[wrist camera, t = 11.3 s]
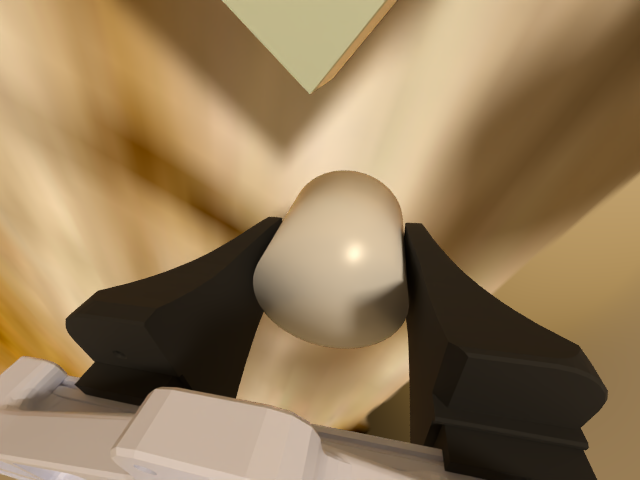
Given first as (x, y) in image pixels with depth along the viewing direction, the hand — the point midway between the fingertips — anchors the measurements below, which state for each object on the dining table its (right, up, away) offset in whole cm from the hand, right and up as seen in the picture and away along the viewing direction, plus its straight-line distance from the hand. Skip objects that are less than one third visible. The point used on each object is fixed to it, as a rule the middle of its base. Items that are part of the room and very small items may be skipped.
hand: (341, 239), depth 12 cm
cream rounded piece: (0, +1, +1) cm, 2 cm away
